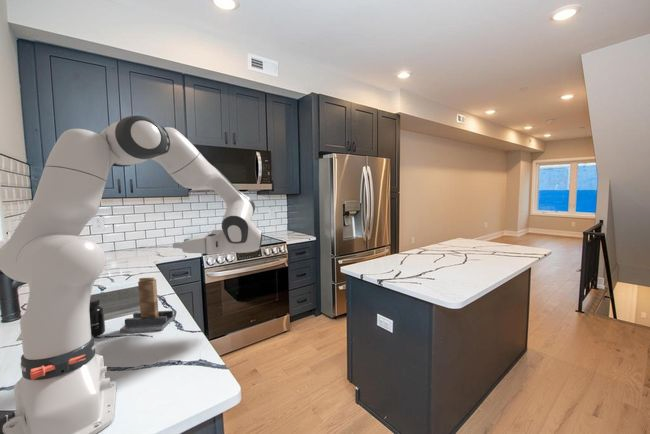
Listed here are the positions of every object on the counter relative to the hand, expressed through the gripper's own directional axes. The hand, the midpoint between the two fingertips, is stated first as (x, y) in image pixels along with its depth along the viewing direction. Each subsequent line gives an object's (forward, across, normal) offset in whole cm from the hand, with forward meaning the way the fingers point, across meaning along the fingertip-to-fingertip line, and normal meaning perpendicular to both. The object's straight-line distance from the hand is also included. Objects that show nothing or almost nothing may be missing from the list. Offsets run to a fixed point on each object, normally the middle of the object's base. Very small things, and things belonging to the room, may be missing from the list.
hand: (179, 243), depth 105 cm
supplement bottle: (+28, +6, +30) cm, 42 cm away
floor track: (+12, 0, +30) cm, 32 cm away
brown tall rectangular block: (+12, 0, +28) cm, 31 cm away
